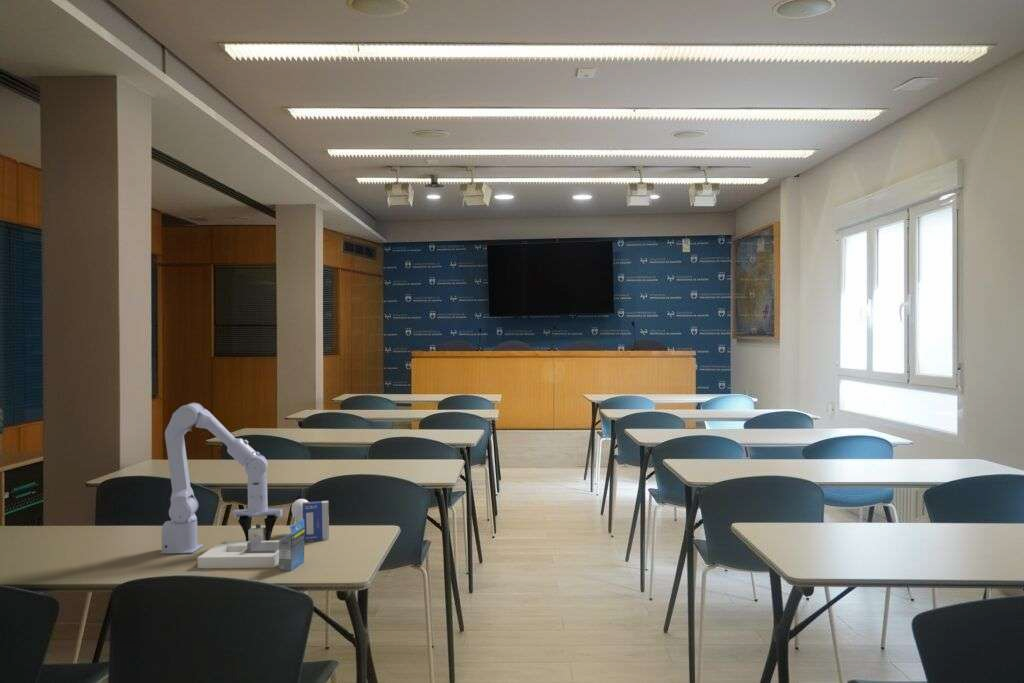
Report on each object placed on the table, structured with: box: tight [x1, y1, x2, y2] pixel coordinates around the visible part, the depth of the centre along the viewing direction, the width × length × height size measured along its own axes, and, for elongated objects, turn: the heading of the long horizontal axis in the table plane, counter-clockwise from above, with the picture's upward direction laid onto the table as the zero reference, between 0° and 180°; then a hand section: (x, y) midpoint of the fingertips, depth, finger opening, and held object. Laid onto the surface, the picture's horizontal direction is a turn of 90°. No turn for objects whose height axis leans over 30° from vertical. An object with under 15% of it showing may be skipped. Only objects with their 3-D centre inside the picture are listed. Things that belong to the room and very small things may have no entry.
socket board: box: [197, 540, 279, 569], centre depth 213 cm, size 21×16×3 cm
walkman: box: [303, 500, 330, 542], centre depth 232 cm, size 8×3×12 cm, turn 103°
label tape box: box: [278, 519, 305, 572], centre depth 205 cm, size 9×4×12 cm, turn 172°
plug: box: [248, 523, 266, 541], centre depth 227 cm, size 4×5×6 cm
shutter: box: [245, 536, 279, 553], centre depth 213 cm, size 8×8×3 cm
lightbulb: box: [290, 498, 309, 529], centre depth 241 cm, size 6×6×11 cm
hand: (258, 540), depth 227 cm, fingers open, 5 cm apart
